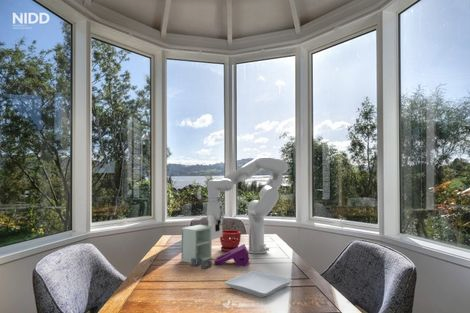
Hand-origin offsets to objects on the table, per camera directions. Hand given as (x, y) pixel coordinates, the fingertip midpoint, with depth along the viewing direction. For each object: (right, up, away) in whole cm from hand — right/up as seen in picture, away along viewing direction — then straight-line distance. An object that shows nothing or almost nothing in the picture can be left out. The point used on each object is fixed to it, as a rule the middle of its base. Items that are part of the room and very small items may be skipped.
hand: (215, 230), depth 189 cm
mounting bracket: (+10, -14, -20) cm, 26 cm away
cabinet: (-10, -13, -12) cm, 20 cm away
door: (0, -4, 0) cm, 4 cm away
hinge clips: (-6, -13, -25) cm, 29 cm away
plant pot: (+9, -15, +9) cm, 20 cm away
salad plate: (+22, -12, -55) cm, 60 cm away
